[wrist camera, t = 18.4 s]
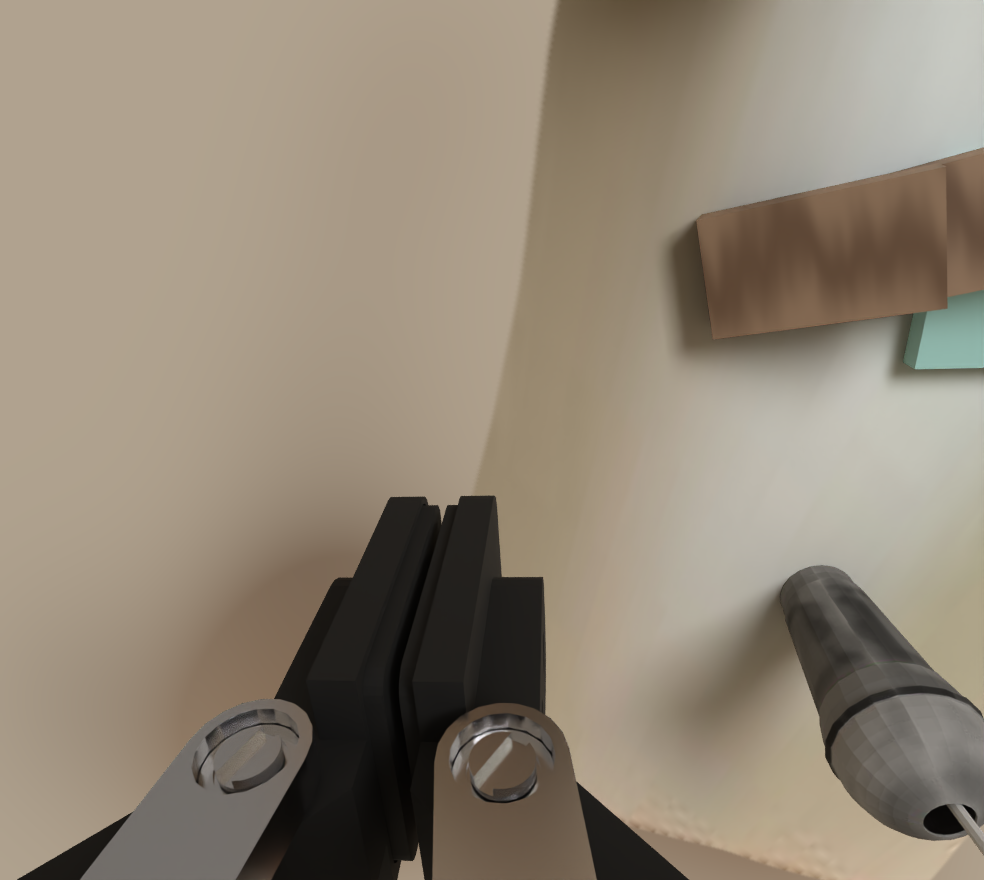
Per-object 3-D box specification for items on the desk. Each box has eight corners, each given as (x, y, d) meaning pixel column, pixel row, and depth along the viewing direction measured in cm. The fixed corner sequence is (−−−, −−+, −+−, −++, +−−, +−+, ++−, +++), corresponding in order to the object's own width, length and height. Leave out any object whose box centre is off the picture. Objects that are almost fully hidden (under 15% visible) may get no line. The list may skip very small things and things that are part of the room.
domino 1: (696, 220, 32) (946, 166, 27) (701, 214, 33) (938, 162, 29) (712, 339, 34) (947, 308, 29) (717, 328, 35) (940, 297, 31)
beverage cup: (738, 623, 43) (874, 968, 25) (788, 533, 40) (982, 851, 22) (842, 651, 44) (1051, 1013, 25) (899, 564, 41) (1182, 905, 22)
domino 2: (833, 194, 31) (1105, 119, 27) (827, 190, 32) (1082, 120, 28) (848, 317, 33) (1104, 265, 29) (842, 307, 34) (1083, 257, 30)
